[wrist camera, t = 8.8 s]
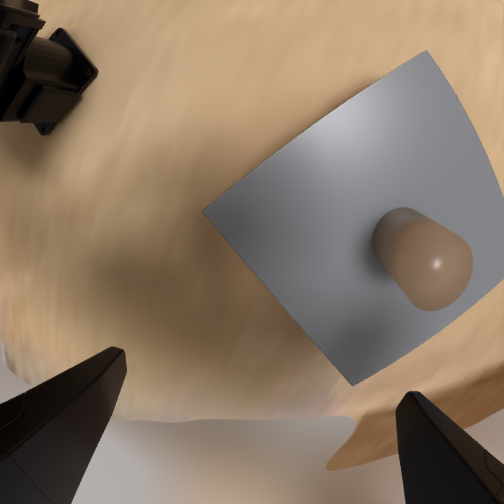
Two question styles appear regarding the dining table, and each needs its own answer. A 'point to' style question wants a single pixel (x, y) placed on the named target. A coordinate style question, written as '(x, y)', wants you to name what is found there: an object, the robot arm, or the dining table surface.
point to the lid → (374, 220)
